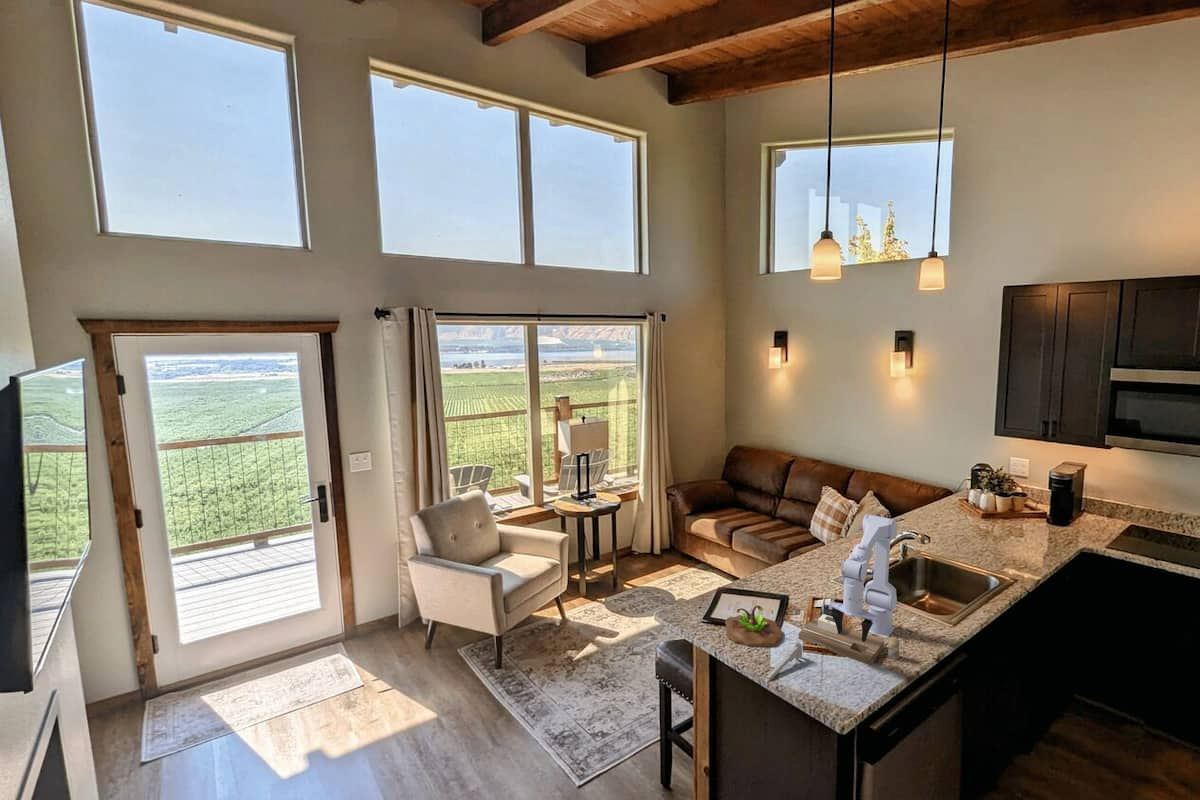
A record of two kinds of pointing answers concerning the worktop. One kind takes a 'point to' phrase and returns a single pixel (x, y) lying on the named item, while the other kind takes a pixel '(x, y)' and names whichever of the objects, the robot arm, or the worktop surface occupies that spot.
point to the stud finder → (827, 623)
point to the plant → (752, 630)
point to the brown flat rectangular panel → (843, 642)
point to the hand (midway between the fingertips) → (851, 636)
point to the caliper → (786, 661)
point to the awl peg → (893, 648)
